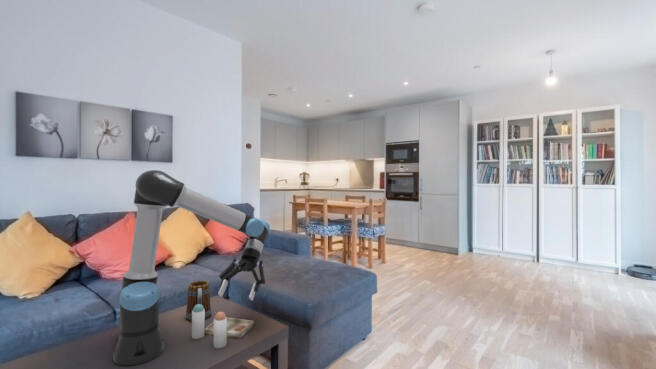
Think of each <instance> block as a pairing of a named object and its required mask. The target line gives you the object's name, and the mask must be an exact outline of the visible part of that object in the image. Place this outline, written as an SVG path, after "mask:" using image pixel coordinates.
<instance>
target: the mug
mask: <svg viewBox="0 0 656 369" xmlns="http://www.w3.org/2000/svg"><path fill="white" fill-rule="evenodd" d="M210 293H211V289H210V281H207V280H204V279H203V280H195V281H192V282H190V283H189V284H188V289H187V302H186V311H185V319H186V320H187V321H189V322H192V310H193V308H194V306H195V305H197V304H201V305H203V307H204V309H205V320H207V319H208V318H210V317H211V314H212V308H211V295H210Z"/></svg>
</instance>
